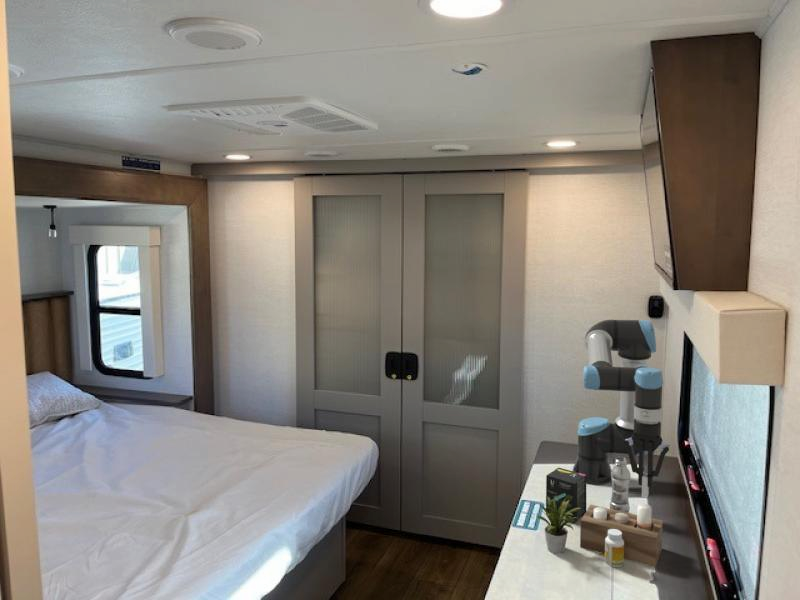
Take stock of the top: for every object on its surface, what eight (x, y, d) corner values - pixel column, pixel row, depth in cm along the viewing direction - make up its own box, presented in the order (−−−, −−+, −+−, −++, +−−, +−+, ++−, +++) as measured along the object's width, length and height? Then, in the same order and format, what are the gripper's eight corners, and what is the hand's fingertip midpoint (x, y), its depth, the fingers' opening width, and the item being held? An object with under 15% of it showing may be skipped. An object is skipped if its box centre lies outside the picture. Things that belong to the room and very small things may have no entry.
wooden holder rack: (590, 530, 200) (590, 500, 199) (661, 548, 189) (663, 516, 187) (580, 547, 190) (580, 515, 189) (655, 567, 179) (656, 533, 177)
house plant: (573, 569, 178) (574, 516, 176) (527, 557, 185) (528, 506, 183) (584, 546, 191) (585, 496, 189) (541, 535, 198) (541, 488, 195)
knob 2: (637, 533, 188) (638, 502, 187) (651, 536, 186) (652, 505, 185) (635, 539, 185) (636, 508, 184) (649, 542, 183) (650, 511, 181)
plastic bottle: (606, 514, 211) (607, 459, 208) (615, 508, 215) (616, 454, 213) (624, 521, 206) (625, 464, 203) (632, 514, 211) (634, 458, 208)
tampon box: (586, 514, 211) (587, 474, 209) (574, 524, 204) (575, 483, 202) (557, 505, 218) (558, 466, 217) (545, 514, 212) (545, 474, 210)
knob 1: (594, 535, 196) (595, 506, 194) (607, 538, 193) (608, 509, 192) (591, 541, 192) (592, 511, 191) (604, 544, 190) (605, 514, 189)
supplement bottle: (626, 562, 181) (627, 531, 180) (618, 569, 178) (619, 538, 176) (609, 555, 185) (610, 525, 184) (601, 562, 182) (601, 532, 180)
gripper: (621, 420, 181) (619, 496, 184) (669, 427, 174) (666, 505, 177) (627, 413, 187) (625, 486, 190) (673, 420, 180) (670, 495, 183)
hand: (644, 495), depth 183 cm, fingers closed
